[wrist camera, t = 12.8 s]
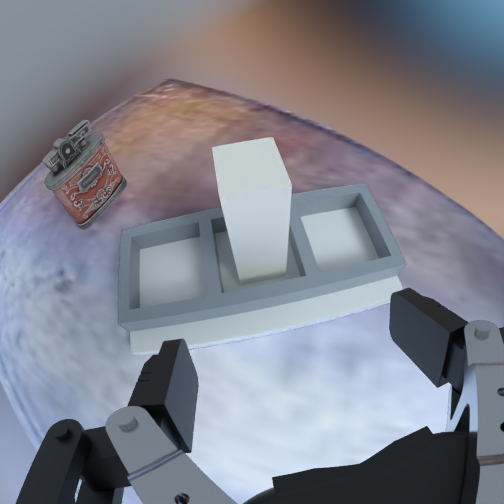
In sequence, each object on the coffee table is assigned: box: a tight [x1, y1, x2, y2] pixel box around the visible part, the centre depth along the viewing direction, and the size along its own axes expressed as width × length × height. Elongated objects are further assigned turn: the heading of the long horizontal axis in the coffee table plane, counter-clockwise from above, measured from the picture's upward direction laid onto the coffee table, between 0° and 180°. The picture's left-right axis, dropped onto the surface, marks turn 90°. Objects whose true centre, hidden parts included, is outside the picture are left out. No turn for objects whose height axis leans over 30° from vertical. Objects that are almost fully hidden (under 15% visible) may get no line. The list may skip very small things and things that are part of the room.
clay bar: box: [212, 137, 292, 285], centre depth 19 cm, size 4×4×10 cm
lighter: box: [43, 120, 127, 229], centre depth 25 cm, size 8×3×10 cm, turn 150°
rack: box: [118, 183, 406, 356], centre depth 23 cm, size 22×12×3 cm, turn 101°
